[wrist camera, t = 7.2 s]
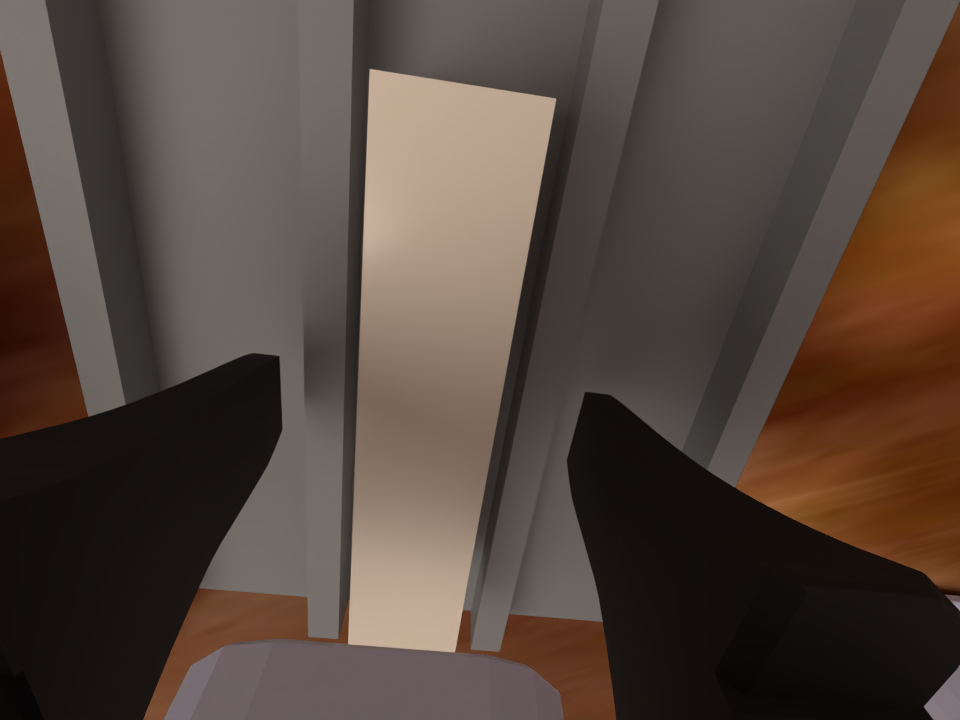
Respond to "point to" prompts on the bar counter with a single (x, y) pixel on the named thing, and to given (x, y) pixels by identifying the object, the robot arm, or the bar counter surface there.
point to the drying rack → (553, 245)
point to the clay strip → (434, 339)
